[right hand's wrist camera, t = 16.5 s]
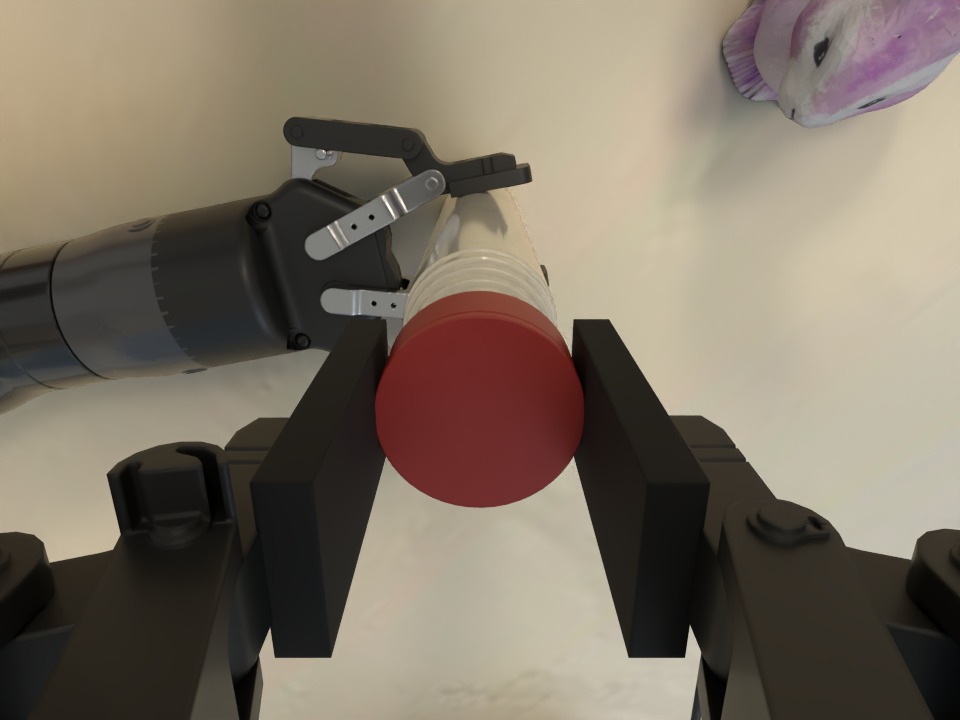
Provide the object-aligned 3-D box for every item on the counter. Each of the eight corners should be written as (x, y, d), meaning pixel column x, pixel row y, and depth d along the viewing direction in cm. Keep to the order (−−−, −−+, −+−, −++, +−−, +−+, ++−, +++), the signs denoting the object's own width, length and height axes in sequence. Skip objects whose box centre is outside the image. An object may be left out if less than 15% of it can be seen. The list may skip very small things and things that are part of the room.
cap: (603, 329, 14) (622, 362, 12) (528, 483, 15) (535, 533, 13) (423, 260, 13) (414, 283, 11) (362, 427, 15) (346, 470, 13)
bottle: (504, 263, 37) (546, 520, 14) (433, 241, 37) (351, 469, 13) (527, 190, 36) (618, 340, 12) (454, 167, 35) (403, 276, 12)
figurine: (688, 112, 34) (832, 111, 20) (772, -110, 31) (1019, -297, 17) (849, 164, 35) (1093, 199, 21) (949, -44, 32) (1322, -169, 18)
